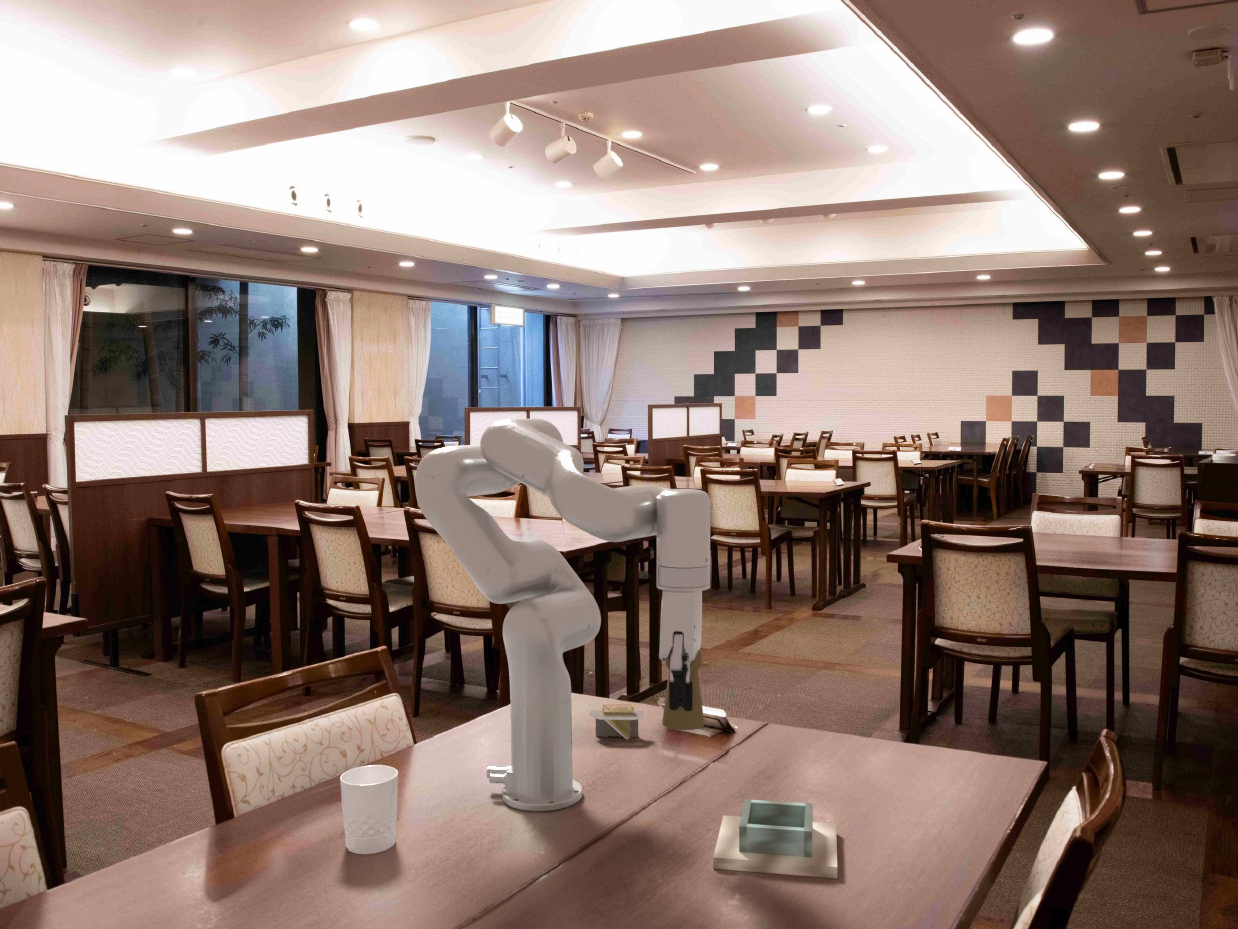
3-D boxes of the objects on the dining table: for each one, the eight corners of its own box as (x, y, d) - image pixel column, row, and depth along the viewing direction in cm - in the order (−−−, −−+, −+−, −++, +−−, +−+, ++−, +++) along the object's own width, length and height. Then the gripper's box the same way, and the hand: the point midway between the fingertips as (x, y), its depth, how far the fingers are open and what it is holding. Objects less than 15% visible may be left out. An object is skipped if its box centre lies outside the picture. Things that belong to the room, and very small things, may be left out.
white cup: (341, 860, 136) (340, 787, 136) (341, 836, 144) (340, 768, 143) (401, 853, 138) (399, 781, 138) (398, 830, 146) (396, 762, 145)
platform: (664, 752, 179) (664, 715, 179) (564, 750, 181) (563, 714, 180) (666, 730, 191) (665, 696, 191) (572, 729, 192) (571, 695, 192)
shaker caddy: (713, 868, 132) (712, 831, 132) (723, 825, 146) (723, 791, 146) (837, 878, 129) (837, 840, 129) (836, 833, 143) (836, 799, 143)
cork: (701, 731, 139) (702, 653, 138) (658, 728, 140) (658, 650, 140) (706, 718, 145) (707, 642, 144) (665, 715, 146) (665, 640, 146)
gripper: (665, 567, 150) (665, 688, 151) (646, 586, 134) (646, 722, 135) (716, 568, 149) (715, 690, 150) (703, 588, 132) (702, 725, 133)
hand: (683, 704), depth 142 cm, fingers closed on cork, 3 cm apart
